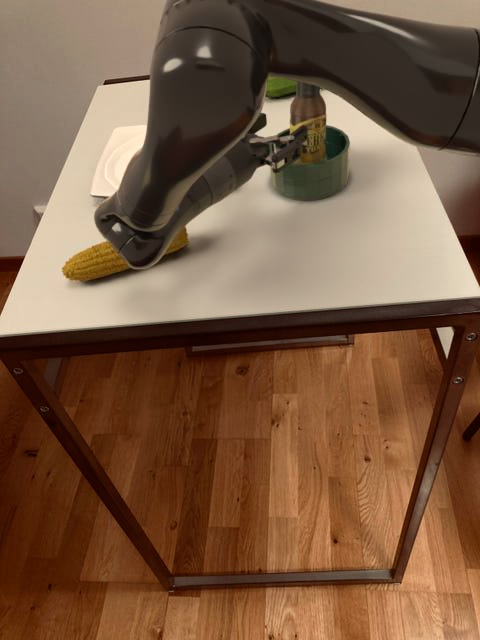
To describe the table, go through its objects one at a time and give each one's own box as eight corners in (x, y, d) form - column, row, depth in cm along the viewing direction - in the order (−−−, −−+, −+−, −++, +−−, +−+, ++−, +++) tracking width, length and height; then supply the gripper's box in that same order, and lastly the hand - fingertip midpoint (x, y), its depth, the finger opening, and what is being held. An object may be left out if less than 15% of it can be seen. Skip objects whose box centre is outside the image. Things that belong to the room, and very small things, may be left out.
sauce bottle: (301, 188, 92) (297, 76, 77) (285, 173, 96) (278, 63, 81) (332, 177, 93) (334, 64, 78) (315, 162, 97) (313, 52, 82)
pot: (353, 159, 97) (355, 125, 92) (341, 203, 89) (342, 168, 84) (281, 156, 101) (279, 122, 96) (263, 197, 93) (259, 163, 88)
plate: (238, 122, 113) (236, 111, 111) (234, 198, 94) (232, 185, 92) (114, 136, 116) (110, 125, 114) (86, 211, 97) (81, 200, 95)
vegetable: (253, 59, 114) (338, 41, 116) (252, 82, 121) (332, 65, 122) (262, 85, 112) (348, 67, 114) (260, 107, 119) (341, 90, 121)
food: (184, 234, 88) (176, 205, 84) (194, 252, 85) (187, 223, 80) (66, 276, 85) (52, 249, 80) (72, 297, 81) (57, 270, 77)
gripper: (249, 163, 69) (320, 112, 76) (178, 136, 76) (249, 92, 83) (254, 208, 75) (320, 157, 82) (188, 180, 82) (254, 135, 89)
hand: (284, 124), depth 82 cm, fingers open, 8 cm apart
